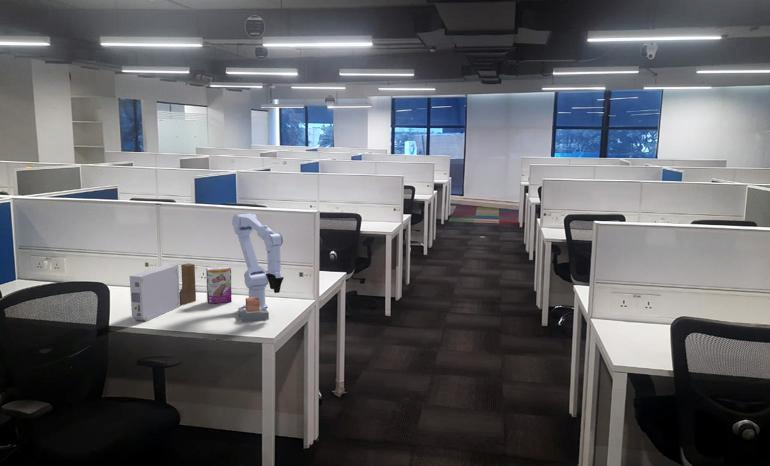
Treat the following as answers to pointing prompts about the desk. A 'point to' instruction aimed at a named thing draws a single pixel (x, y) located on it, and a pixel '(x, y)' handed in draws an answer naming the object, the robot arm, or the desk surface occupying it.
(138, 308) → the game console
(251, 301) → the salmon brown cube
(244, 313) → the grey square frame
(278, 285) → the robot arm
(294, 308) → the desk surface
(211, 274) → the candy bar box
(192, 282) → the wooden block
